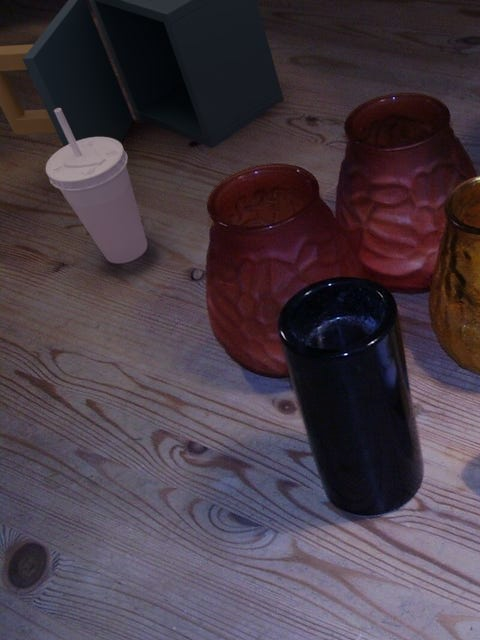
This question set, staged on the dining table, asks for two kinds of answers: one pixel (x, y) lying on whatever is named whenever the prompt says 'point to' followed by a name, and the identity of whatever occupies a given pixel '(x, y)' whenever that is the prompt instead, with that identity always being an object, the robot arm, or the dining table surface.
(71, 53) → the cupboard door
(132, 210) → the smoothie
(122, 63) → the cupboard
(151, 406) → the dining table surface
